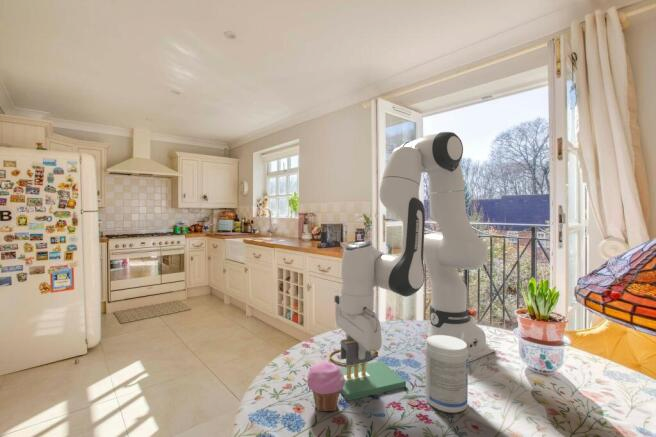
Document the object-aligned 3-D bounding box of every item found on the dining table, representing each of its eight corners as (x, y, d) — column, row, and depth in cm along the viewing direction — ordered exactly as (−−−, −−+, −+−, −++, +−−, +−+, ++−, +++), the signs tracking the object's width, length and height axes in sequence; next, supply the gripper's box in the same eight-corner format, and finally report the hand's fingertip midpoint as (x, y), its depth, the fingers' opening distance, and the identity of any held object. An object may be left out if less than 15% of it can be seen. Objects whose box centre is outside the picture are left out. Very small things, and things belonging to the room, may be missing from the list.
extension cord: (383, 367, 94) (383, 360, 94) (330, 368, 93) (331, 362, 93) (374, 349, 107) (374, 343, 107) (327, 350, 105) (327, 344, 105)
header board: (381, 366, 94) (381, 351, 94) (405, 386, 83) (406, 369, 83) (328, 376, 88) (328, 360, 88) (347, 400, 77) (347, 382, 76)
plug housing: (363, 354, 88) (363, 336, 88) (370, 361, 85) (371, 342, 84) (340, 358, 86) (341, 339, 86) (347, 365, 82) (347, 345, 82)
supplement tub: (476, 412, 73) (477, 348, 73) (439, 417, 71) (440, 352, 70) (450, 389, 82) (452, 332, 82) (417, 393, 80) (418, 335, 80)
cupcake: (346, 418, 70) (347, 373, 70) (307, 419, 69) (308, 374, 69) (341, 394, 79) (342, 355, 79) (306, 396, 78) (307, 356, 78)
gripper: (388, 313, 76) (387, 370, 77) (351, 292, 95) (349, 338, 96) (365, 315, 74) (364, 374, 74) (331, 294, 93) (330, 341, 93)
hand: (355, 353), depth 85 cm, fingers closed on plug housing, 4 cm apart
